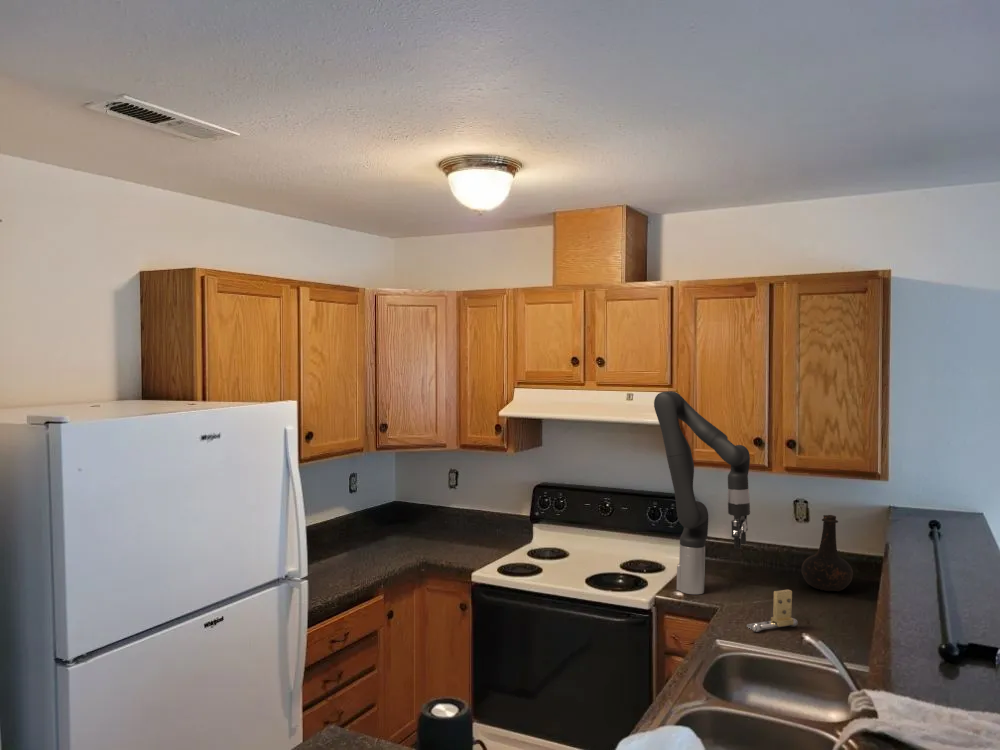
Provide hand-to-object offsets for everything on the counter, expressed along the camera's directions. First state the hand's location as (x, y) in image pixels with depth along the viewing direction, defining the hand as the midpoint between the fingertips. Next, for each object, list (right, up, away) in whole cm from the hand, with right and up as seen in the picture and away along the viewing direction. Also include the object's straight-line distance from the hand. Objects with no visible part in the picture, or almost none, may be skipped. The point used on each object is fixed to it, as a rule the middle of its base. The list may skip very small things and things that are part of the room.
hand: (740, 546), depth 268 cm
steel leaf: (+1, -20, -26) cm, 33 cm away
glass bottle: (+39, -20, +17) cm, 47 cm away
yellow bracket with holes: (+5, -19, -27) cm, 33 cm away
